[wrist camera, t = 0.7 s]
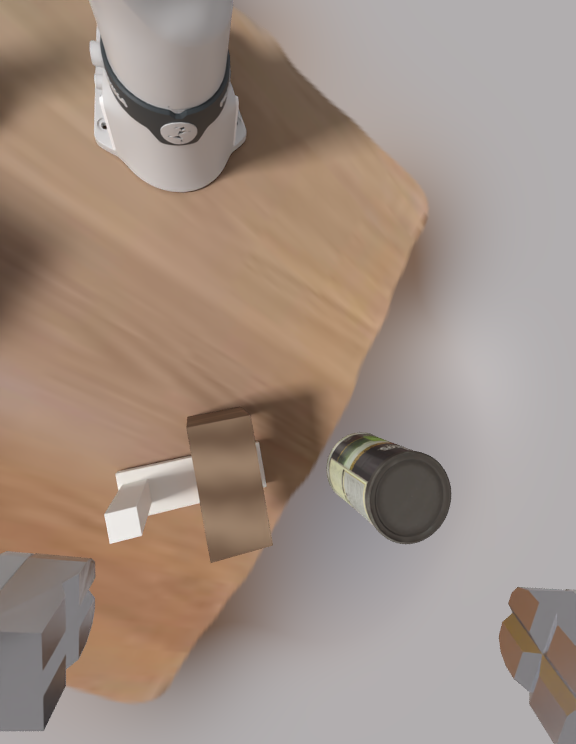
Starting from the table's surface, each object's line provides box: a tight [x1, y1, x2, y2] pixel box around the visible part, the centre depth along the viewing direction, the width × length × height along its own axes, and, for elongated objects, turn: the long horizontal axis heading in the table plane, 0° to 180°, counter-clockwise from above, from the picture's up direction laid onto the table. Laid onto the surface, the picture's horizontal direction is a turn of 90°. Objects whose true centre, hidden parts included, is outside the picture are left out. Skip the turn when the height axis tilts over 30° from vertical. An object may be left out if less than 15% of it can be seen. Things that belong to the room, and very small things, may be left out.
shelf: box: [187, 407, 273, 563], centre depth 48 cm, size 15×7×10 cm, turn 10°
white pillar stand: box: [104, 441, 267, 544], centre depth 46 cm, size 6×18×11 cm, turn 100°
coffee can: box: [327, 433, 451, 544], centre depth 50 cm, size 10×10×14 cm
